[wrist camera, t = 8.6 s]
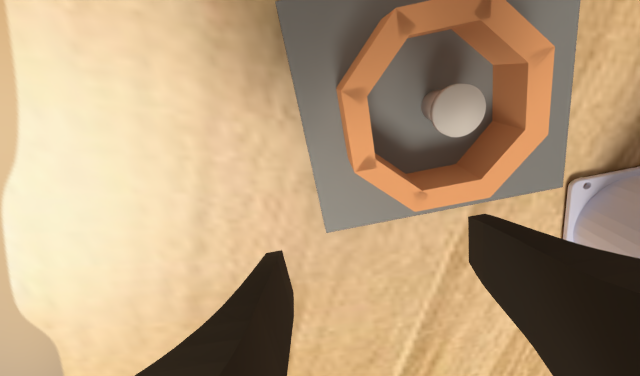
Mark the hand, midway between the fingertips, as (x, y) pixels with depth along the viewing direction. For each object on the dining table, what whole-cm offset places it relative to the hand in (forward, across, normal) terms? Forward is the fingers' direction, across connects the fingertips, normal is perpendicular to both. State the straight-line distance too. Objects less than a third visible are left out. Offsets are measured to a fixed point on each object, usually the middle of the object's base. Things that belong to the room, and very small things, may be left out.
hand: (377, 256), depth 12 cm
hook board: (+9, -6, -4) cm, 12 cm away
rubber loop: (+8, -5, -4) cm, 11 cm away
